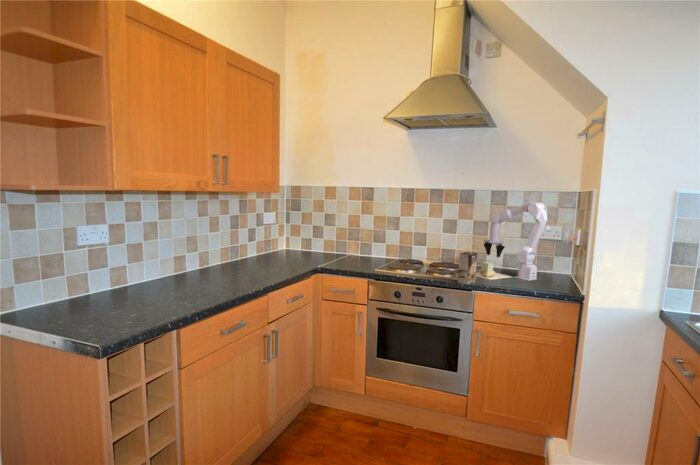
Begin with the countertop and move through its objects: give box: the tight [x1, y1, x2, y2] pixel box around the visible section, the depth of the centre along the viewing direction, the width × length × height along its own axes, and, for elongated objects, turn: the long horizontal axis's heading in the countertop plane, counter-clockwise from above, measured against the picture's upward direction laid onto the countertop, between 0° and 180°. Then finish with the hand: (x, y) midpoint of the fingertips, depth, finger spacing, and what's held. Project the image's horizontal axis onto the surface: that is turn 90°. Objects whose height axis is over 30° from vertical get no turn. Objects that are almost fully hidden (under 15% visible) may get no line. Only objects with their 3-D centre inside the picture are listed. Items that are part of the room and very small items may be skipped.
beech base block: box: [478, 269, 496, 279], centre depth 234 cm, size 6×6×4 cm
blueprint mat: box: [476, 272, 512, 281], centre depth 237 cm, size 16×19×1 cm
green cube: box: [480, 261, 494, 272], centre depth 233 cm, size 4×4×4 cm
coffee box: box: [457, 251, 478, 286], centre depth 218 cm, size 9×6×16 cm
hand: (493, 256), depth 248 cm, fingers open, 7 cm apart
